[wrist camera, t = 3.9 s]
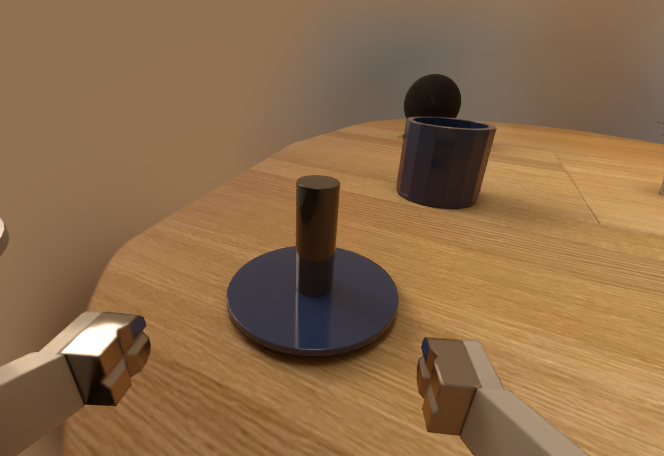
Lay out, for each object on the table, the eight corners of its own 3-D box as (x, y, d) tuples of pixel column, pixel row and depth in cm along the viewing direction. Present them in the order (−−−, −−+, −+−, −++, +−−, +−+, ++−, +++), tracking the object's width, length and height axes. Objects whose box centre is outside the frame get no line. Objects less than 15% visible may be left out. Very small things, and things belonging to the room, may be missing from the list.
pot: (389, 199, 42) (400, 122, 38) (403, 177, 51) (413, 114, 47) (477, 214, 39) (499, 133, 35) (475, 189, 48) (493, 121, 44)
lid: (188, 327, 20) (164, 194, 16) (280, 245, 30) (279, 150, 26) (373, 394, 17) (397, 244, 13) (408, 276, 26) (428, 172, 23)
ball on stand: (460, 140, 84) (474, 76, 78) (440, 147, 74) (455, 75, 68) (413, 133, 91) (422, 73, 85) (389, 138, 82) (398, 71, 75)
